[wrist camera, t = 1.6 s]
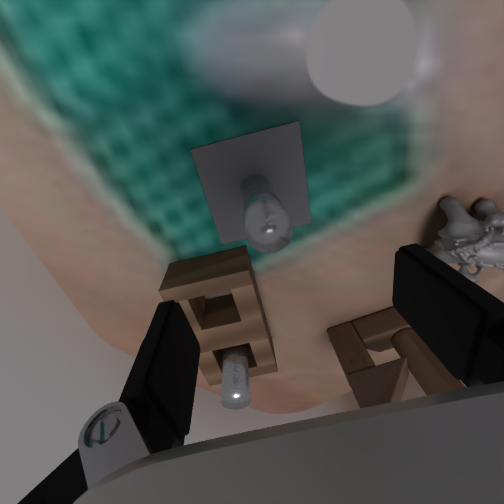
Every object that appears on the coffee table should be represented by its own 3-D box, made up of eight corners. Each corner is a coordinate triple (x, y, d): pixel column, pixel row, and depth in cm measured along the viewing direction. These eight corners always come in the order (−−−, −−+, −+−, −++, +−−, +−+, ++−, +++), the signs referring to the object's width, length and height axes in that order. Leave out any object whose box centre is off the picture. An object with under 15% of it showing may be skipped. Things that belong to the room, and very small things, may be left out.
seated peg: (221, 322, 33) (217, 396, 25) (242, 317, 33) (246, 390, 24) (227, 337, 35) (225, 411, 26) (248, 332, 35) (253, 406, 26)
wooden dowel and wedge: (325, 328, 35) (400, 499, 20) (401, 302, 34) (545, 465, 18) (331, 343, 37) (404, 512, 22) (403, 320, 36) (536, 482, 20)
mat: (190, 149, 23) (190, 149, 22) (298, 120, 22) (299, 121, 22) (222, 243, 27) (221, 244, 27) (310, 221, 27) (311, 223, 27)
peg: (237, 178, 24) (241, 216, 15) (268, 170, 24) (289, 205, 15) (245, 207, 25) (252, 257, 17) (273, 200, 25) (296, 247, 16)
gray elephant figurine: (416, 201, 27) (470, 232, 21) (538, 167, 25) (639, 190, 19) (413, 267, 32) (457, 310, 25) (516, 242, 30) (592, 281, 24)
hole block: (169, 263, 28) (158, 291, 24) (245, 245, 28) (248, 270, 23) (212, 352, 36) (209, 385, 32) (272, 339, 36) (277, 371, 31)
